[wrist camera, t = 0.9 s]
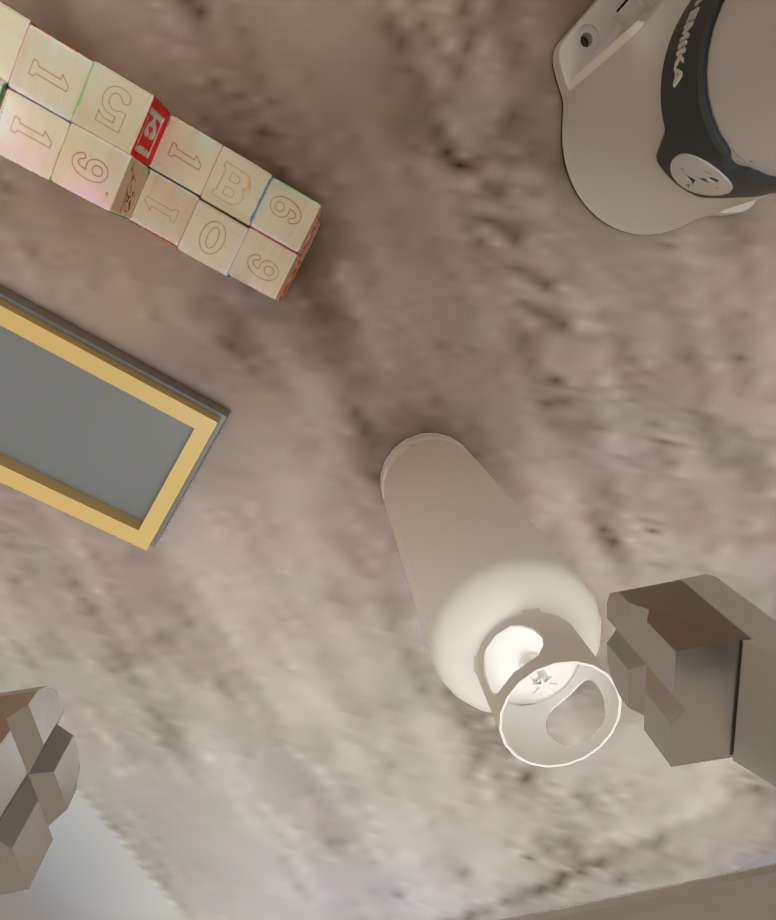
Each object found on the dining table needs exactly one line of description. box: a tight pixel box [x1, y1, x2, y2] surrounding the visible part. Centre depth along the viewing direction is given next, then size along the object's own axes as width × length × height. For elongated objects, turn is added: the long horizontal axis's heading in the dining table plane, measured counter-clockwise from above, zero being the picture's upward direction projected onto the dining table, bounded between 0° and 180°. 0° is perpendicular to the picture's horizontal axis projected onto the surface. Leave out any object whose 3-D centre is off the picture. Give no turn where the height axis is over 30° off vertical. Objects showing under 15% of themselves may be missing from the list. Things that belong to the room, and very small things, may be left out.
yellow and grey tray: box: [0, 285, 231, 551], centre depth 41 cm, size 12×27×4 cm, turn 58°
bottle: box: [380, 433, 622, 767], centre depth 35 cm, size 8×8×28 cm
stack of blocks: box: [0, 2, 321, 301], centre depth 34 cm, size 21×6×12 cm, turn 60°
